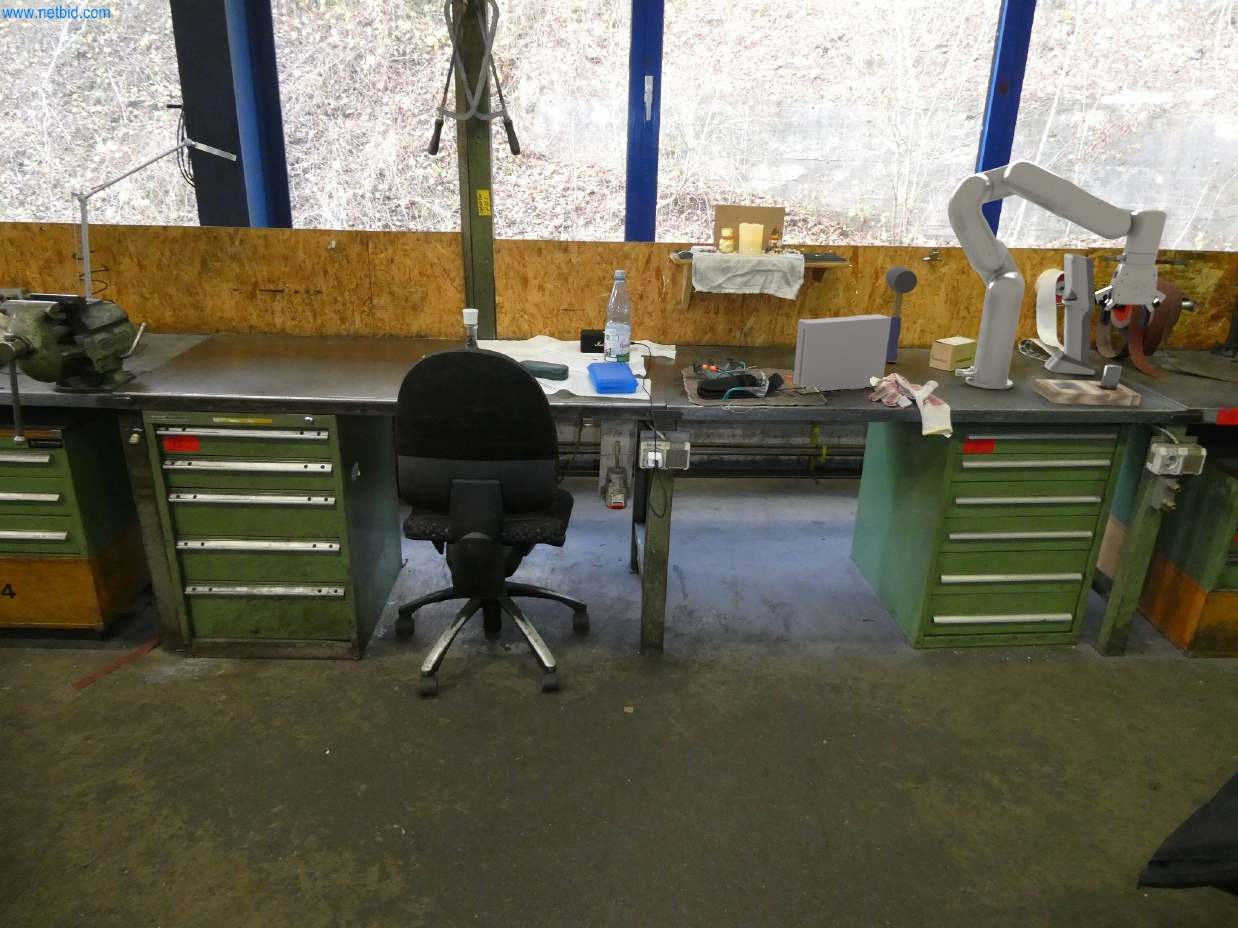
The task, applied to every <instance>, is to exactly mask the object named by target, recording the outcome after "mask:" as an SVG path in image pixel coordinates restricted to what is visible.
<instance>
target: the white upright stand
mask: <svg viewBox="0 0 1238 928" xmlns="http://www.w3.org/2000/svg"><path fill="white" fill-rule="evenodd" d="M1063 261H1064V264H1063V265H1064V275H1063V276H1064V290H1063V293H1062V295H1061V303H1062V304H1064V306H1065V307H1064V321H1063V322H1064V323H1063V350H1058V351H1057V352H1055V353H1054V354H1053V355H1051V356H1050V357H1049V358H1048V359H1047V360H1046V361H1045V364H1043V367H1044V368H1045V369H1046V370H1047V371H1048V372H1052V373H1055V374H1062V375H1064V374H1066V375H1081V376H1094V375H1096V370H1095V369H1096V368H1095V367H1094V366H1093V365H1091V364H1090V356H1091V355H1090V354H1091V353H1090V351H1091V318H1092V315H1093V314H1094V313H1095V308H1096V306H1095V305H1096V304H1095V299H1096V297H1095V269H1094V268H1095V265H1094V261H1093V259H1092V258H1090V257H1087V256H1084V255H1082V254H1077V253H1071V252H1070V253H1069V252H1066V253H1064V257H1063Z"/></svg>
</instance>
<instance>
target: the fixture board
mask: <svg viewBox="0 0 1238 928" xmlns="http://www.w3.org/2000/svg"><path fill="white" fill-rule="evenodd" d="M1101 381H1102V380H1077V379H1076V380H1074V379H1050V378H1049V379H1046V378H1034V382H1033V387H1032V390H1033V391H1035V392H1036V393H1037V394H1039V395H1041V396H1042V397H1043V398H1044V399H1046V400H1047V399H1048V400H1047V401H1048V402H1050V403H1052V404H1068V405H1069V404H1070V405H1071V404H1072V405H1093V406H1094V405H1095V406H1097V405H1098V406H1122V407H1123V406H1125V407H1126V406H1127V407H1139V406H1140V401H1141V398H1142V394H1140V393H1139V392H1138V393H1137V392H1136V391H1134V390H1133V389H1131V388H1129V387H1128V386H1125V385H1123V384H1122V383H1119V382H1118V386H1117V390H1102V389H1101V388H1100V385H1101Z"/></svg>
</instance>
